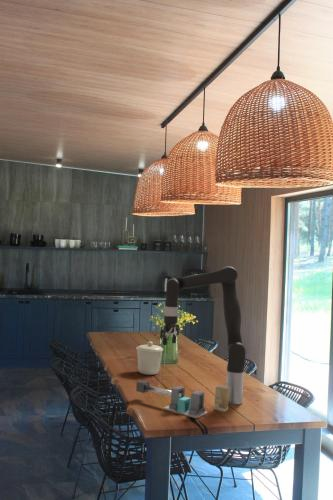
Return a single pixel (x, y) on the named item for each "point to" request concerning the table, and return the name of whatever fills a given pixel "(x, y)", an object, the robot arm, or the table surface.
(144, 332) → the table surface
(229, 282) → the robot arm
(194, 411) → the bearing stand
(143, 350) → the canister
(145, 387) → the shaft
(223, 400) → the skincare box
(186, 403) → the spacer
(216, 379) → the table surface
